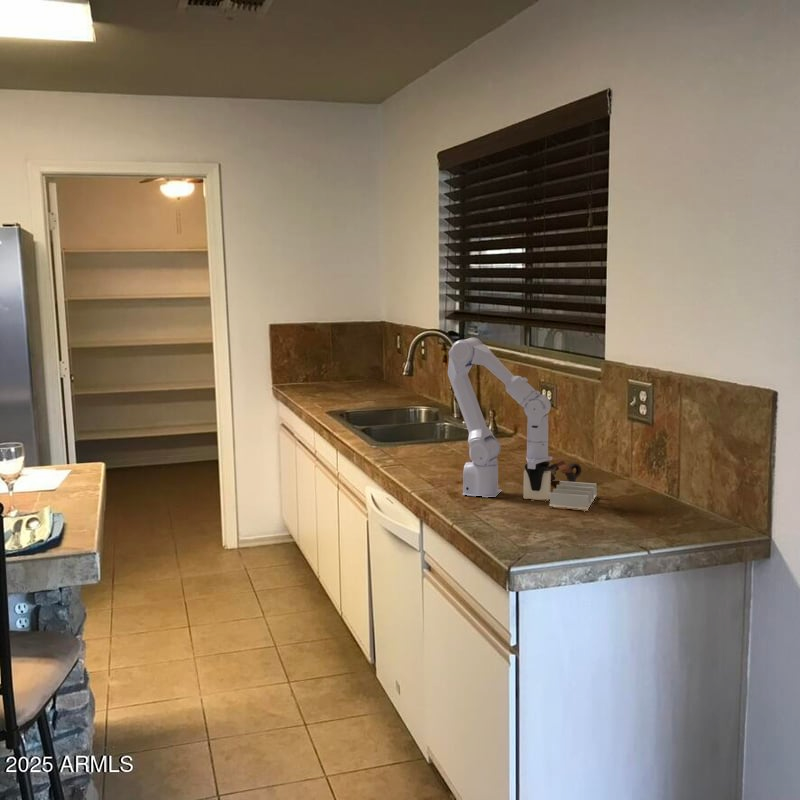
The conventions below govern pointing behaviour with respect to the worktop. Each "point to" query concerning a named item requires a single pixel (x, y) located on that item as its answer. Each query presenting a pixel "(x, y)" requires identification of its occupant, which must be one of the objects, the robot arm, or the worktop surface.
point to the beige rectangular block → (544, 489)
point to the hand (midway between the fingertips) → (536, 489)
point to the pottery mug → (565, 470)
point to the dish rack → (573, 495)
